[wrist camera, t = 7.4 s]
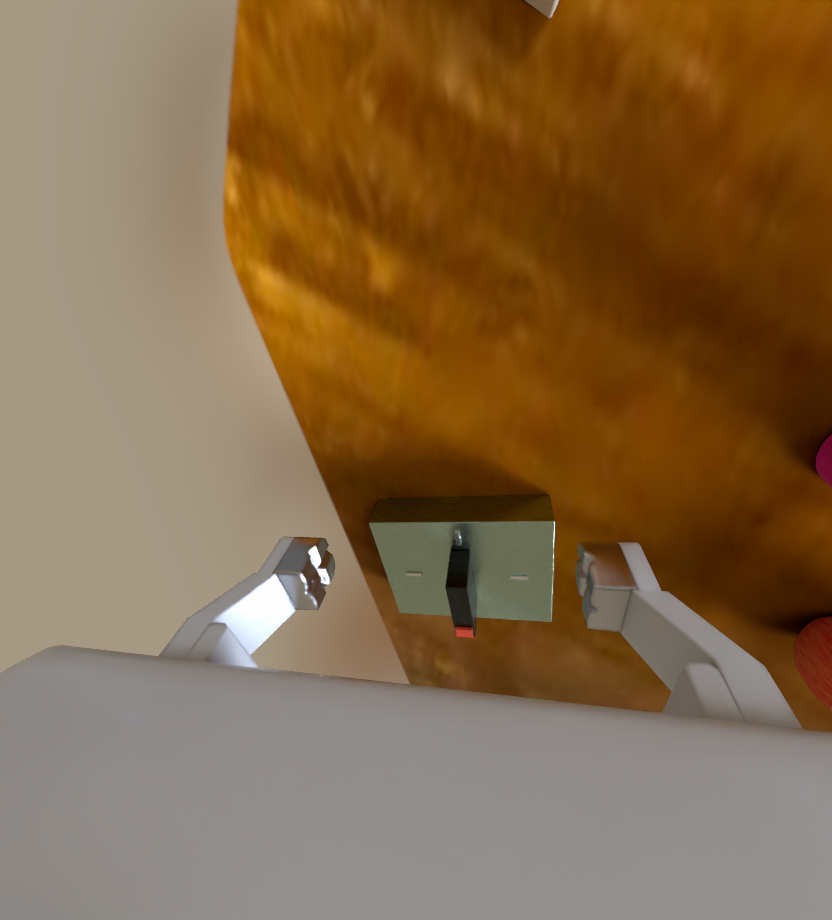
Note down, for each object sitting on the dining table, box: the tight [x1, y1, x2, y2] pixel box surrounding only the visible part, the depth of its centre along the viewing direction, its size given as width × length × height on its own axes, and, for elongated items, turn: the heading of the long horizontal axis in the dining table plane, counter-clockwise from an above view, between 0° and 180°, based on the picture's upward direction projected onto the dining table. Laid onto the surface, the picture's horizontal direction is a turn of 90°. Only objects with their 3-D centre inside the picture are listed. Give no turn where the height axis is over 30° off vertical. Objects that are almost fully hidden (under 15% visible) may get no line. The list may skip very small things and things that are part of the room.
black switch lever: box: [445, 551, 477, 638], centre depth 28 cm, size 6×2×4 cm, turn 10°
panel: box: [369, 495, 555, 622], centre depth 31 cm, size 14×12×3 cm
